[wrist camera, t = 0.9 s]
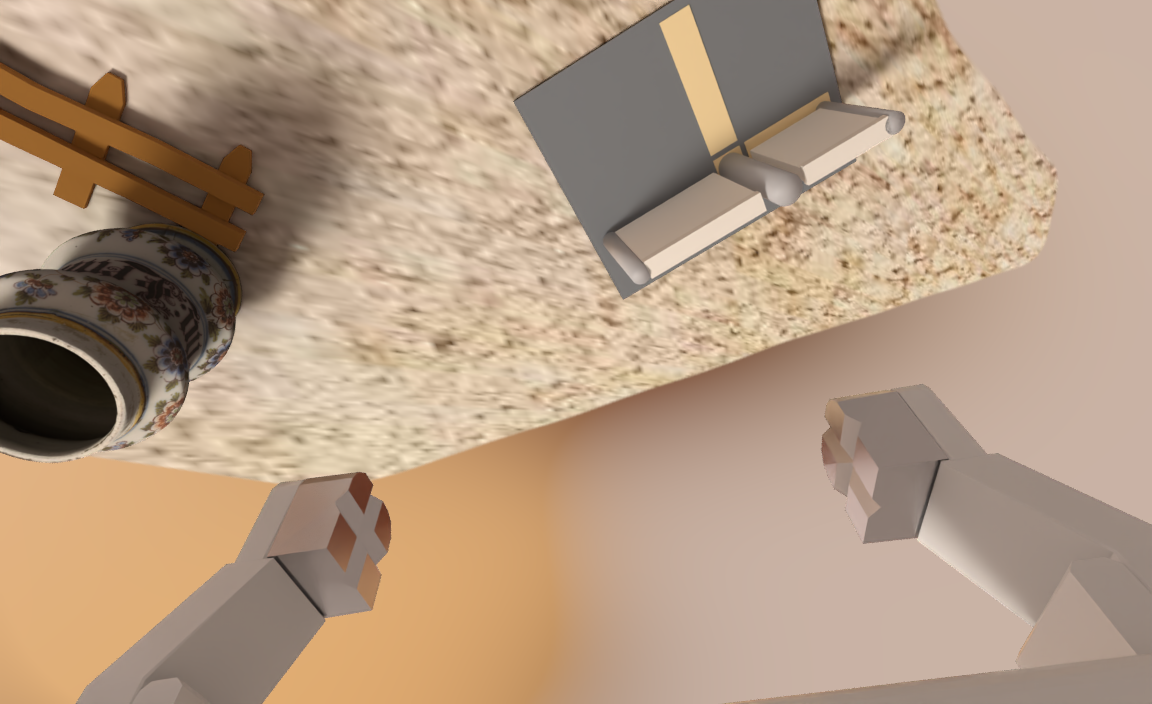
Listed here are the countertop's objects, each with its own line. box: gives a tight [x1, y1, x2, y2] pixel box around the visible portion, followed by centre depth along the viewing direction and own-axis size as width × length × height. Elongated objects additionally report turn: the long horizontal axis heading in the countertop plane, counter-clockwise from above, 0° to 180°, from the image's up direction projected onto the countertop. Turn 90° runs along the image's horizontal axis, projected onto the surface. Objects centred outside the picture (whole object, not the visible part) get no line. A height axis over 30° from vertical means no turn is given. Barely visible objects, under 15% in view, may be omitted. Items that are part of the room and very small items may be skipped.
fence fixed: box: [719, 101, 905, 206], centre depth 46 cm, size 2×11×10 cm, turn 119°
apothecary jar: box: [0, 223, 242, 463], centre depth 38 cm, size 12×12×18 cm
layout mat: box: [513, 0, 856, 299], centre depth 49 cm, size 20×25×1 cm
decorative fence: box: [0, 62, 264, 252], centre depth 39 cm, size 25×2×10 cm
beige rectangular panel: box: [603, 172, 767, 284], centre depth 47 cm, size 2×11×9 cm, turn 119°
